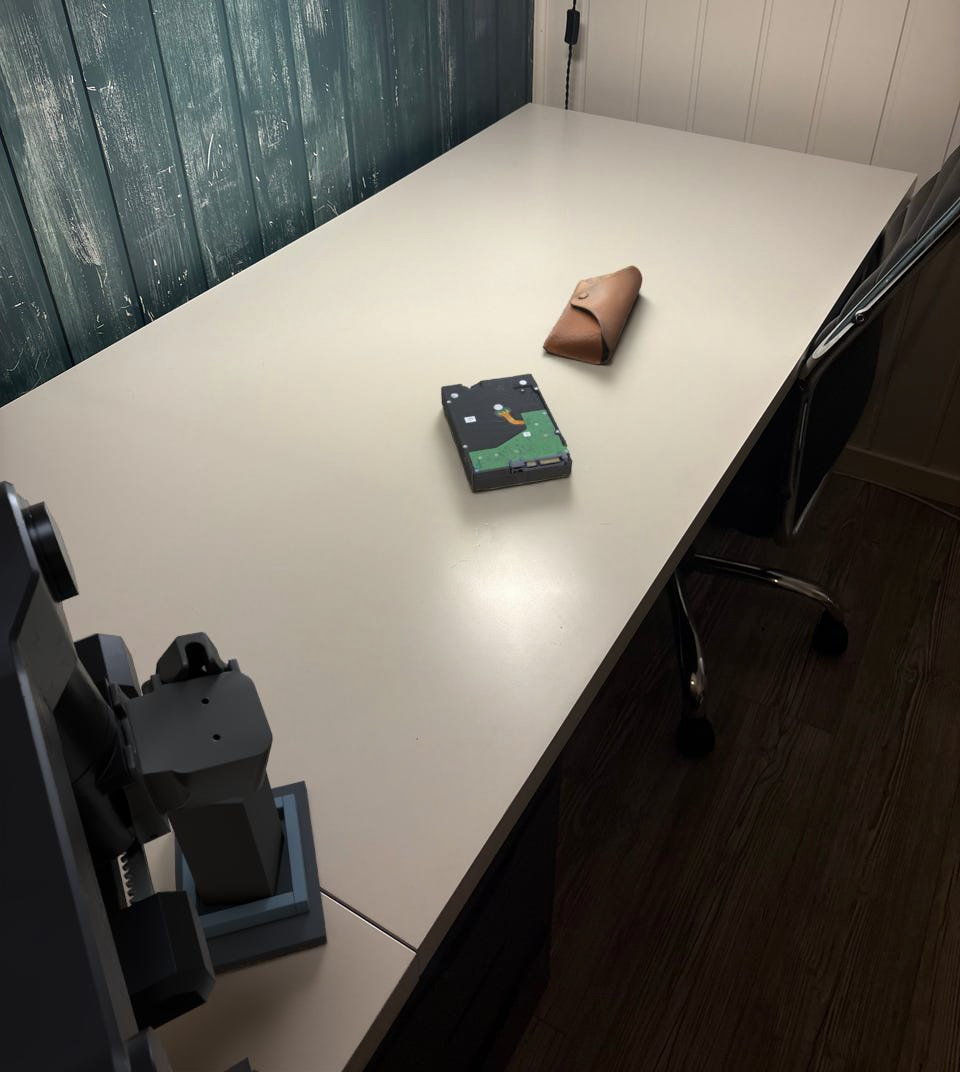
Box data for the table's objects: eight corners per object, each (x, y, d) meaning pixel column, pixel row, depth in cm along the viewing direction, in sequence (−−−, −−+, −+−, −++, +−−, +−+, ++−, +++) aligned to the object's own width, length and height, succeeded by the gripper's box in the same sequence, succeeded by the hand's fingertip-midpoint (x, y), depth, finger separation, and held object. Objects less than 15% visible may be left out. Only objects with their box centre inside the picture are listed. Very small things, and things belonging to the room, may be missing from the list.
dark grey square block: (274, 904, 60) (243, 803, 53) (203, 906, 60) (162, 805, 53) (284, 836, 64) (256, 732, 56) (218, 838, 64) (180, 734, 56)
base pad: (327, 942, 59) (323, 924, 58) (180, 983, 58) (171, 966, 56) (306, 787, 68) (301, 768, 66) (176, 819, 66) (169, 799, 64)
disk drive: (439, 407, 103) (472, 495, 92) (438, 386, 101) (471, 472, 90) (530, 392, 105) (574, 476, 93) (531, 371, 103) (575, 454, 92)
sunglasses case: (577, 277, 123) (606, 240, 119) (620, 308, 124) (651, 273, 120) (539, 350, 110) (569, 313, 106) (587, 385, 111) (620, 349, 106)
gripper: (299, 856, 34) (358, 989, 45) (180, 513, 47) (249, 682, 57) (-23, 1014, 31) (123, 1116, 42) (-60, 601, 43) (61, 762, 54)
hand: (148, 888), depth 49 cm, fingers open, 9 cm apart
